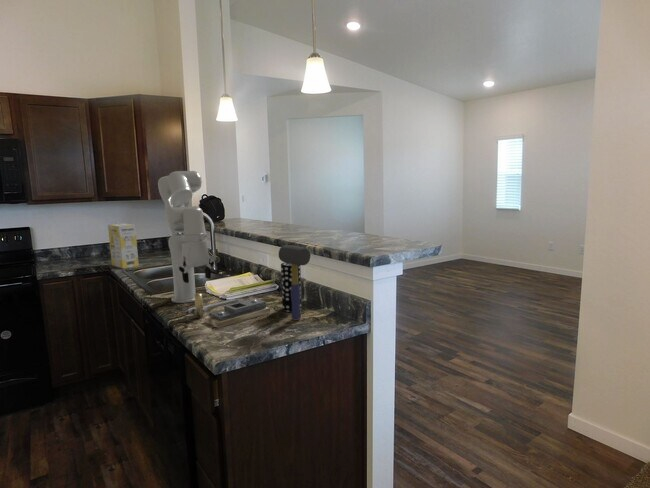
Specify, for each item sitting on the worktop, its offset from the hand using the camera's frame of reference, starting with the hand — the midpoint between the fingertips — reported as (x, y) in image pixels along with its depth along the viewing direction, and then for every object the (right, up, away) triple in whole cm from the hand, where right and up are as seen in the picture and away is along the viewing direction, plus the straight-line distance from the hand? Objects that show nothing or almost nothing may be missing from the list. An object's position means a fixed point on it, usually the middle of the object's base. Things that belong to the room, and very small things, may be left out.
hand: (197, 280), depth 173 cm
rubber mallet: (+40, -16, -2) cm, 43 cm away
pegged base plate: (+16, -13, +2) cm, 21 cm away
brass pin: (0, -16, +3) cm, 16 cm away
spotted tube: (+38, -14, +12) cm, 42 cm away
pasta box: (-85, 0, +118) cm, 145 cm away
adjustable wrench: (+3, -14, +17) cm, 23 cm away
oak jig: (+16, -15, +2) cm, 23 cm away
